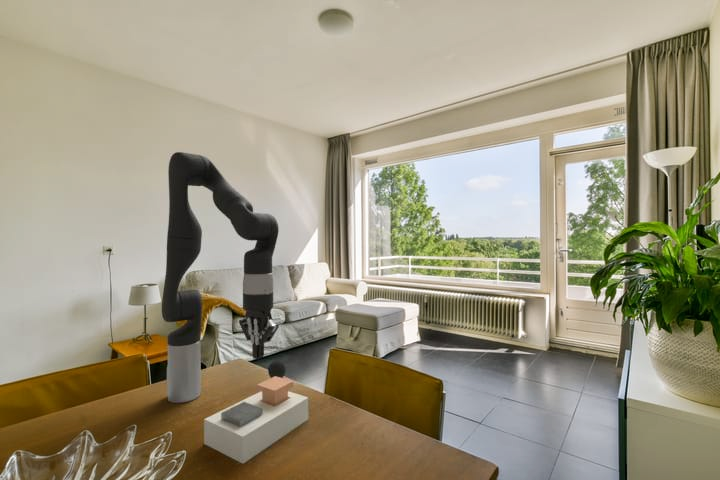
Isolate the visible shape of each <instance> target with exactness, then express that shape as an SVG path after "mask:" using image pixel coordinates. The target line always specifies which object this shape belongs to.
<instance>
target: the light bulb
mask: <svg viewBox="0 0 720 480" xmlns="http://www.w3.org/2000/svg"><path fill="white" fill-rule="evenodd" d="M286 370H287V367H286V364H285V363H284V362H283V361H282V360H279V359H276V360H272V362H271V363H270V364H269V366H268V368H267V372H268V376H269V377H270V378H273V377H275V376H276V377H280V378H283V379H284V376H285V375H286Z"/></svg>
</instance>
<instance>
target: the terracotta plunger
mask: <svg viewBox="0 0 720 480" xmlns="http://www.w3.org/2000/svg"><path fill="white" fill-rule="evenodd" d="M293 387H294V381H293V380H289V379H286V378H284V377H283V378H280V377H276V376H275V377H273V378H271V377H270V378H268V379H266V380H264V381H261V382H260V383H257V384H256V390H257V391H259V392H262V402H263V403H266V404H269V405H272V406H277V405H279V404H281V403H282V402H284V401H286V400H288V391H289V389H291V388H293Z"/></svg>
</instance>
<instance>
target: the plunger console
mask: <svg viewBox="0 0 720 480" xmlns="http://www.w3.org/2000/svg"><path fill="white" fill-rule="evenodd" d="M242 402H246V403H249V404H252V405H254V406H257V407H260V408H262V409H263V414H262V415H260V416H258V417H257V418H255V419H253V420H251V421H250V422H248V423H246V424H244V425H242V426H241V427H239V426H237V425H234V424H232V423H230V422H227V421H225V420H223V419H221V413H222V412H224V411H226V410H228V409H230V408H232V407H234V406H236V405H238V404H240V403H242ZM308 420H309V397H308V396H305V395H301V394H299V393H295V392H292V391H289V390H288V400H286V401H284V402H282V403H281V404H279V405H277V406H272V405H269V404H266V403H263V402H262V392H261V391H259V392H257V393H255V394H253V395H250V396H249V397H246V398H245V399H242V400H241V401H239V402H236V403H234V404H232V405H231V406H228V407H227V408H224V409H222V410H219V411H218V412H215V413H214V414H211V415H210V416H208V417H206V418H204V419H203V431H204V432H203V437H204V438H203V439H204V440H203V443H204V444H203V445H205V446H208V447H209V448H211V449H214V450H215V451H218V452H219V453H221V454H223V455H225V456H227V457H229V458H230V459H233V460H235V461H237V462H238V463H241V464H245V463H246V462H248V461H249V460H251V459H252V458H254V457H256V456H257V455H259V453H262V452H263V451H264V450H266V449H268V448H269V447H270V446H271V445H273V444H275V443H276V442H277V441H279V440H280V439H282V438H283V437H285V436H286V435H287V434H289V433H290V432H292V431H293V430H296V429H297V427H299V426H301V425H302V424H304V423H305V422H306V421H308Z"/></svg>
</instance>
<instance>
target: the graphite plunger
mask: <svg viewBox="0 0 720 480" xmlns="http://www.w3.org/2000/svg"><path fill="white" fill-rule="evenodd" d="M262 414H263V409H262V408H260V407H257V406H254V405H252V404H249V403H246V402H242V403H240V404H238V405H236V406H234V407H232V408H230V409H228V410H226V411H224V412H222V413H221V419H223V420H225V421H227V422H230V423H232V424H234V425H237V426H239V427H241V426H242V425H244V424H246V423H248V422H250V421H251V420H253V419H255V418H257V417H258V416H260V415H262Z"/></svg>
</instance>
